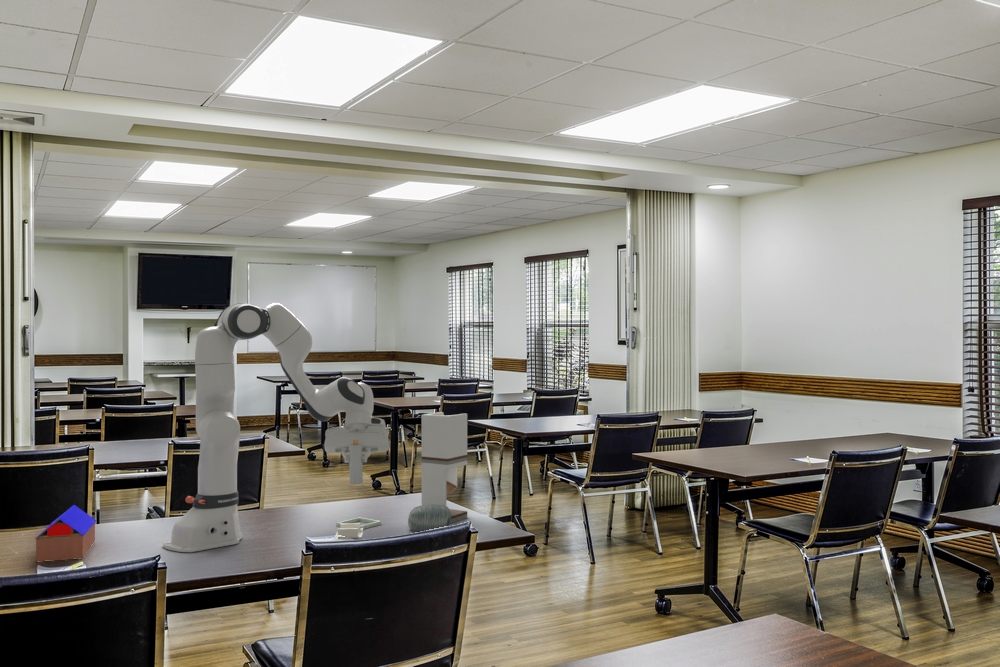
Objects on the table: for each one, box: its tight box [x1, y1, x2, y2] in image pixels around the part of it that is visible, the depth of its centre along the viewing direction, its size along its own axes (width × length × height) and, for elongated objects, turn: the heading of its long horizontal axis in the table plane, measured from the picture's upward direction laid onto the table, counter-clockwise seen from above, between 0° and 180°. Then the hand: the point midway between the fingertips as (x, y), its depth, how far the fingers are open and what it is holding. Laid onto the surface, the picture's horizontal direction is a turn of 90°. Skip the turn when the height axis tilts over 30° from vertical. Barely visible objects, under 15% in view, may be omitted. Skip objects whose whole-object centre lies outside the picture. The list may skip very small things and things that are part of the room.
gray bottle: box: [348, 439, 364, 485], centre depth 251 cm, size 4×4×14 cm
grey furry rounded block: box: [407, 504, 451, 532], centre depth 252 cm, size 14×10×10 cm
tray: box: [335, 516, 382, 530], centre depth 256 cm, size 10×10×2 cm
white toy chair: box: [334, 522, 365, 539], centre depth 246 cm, size 8×11×3 cm
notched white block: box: [421, 411, 468, 524], centre depth 269 cm, size 11×11×35 cm
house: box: [34, 504, 97, 562], centre depth 227 cm, size 12×20×12 cm, turn 18°
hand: (355, 461), depth 250 cm, fingers closed on gray bottle, 4 cm apart
